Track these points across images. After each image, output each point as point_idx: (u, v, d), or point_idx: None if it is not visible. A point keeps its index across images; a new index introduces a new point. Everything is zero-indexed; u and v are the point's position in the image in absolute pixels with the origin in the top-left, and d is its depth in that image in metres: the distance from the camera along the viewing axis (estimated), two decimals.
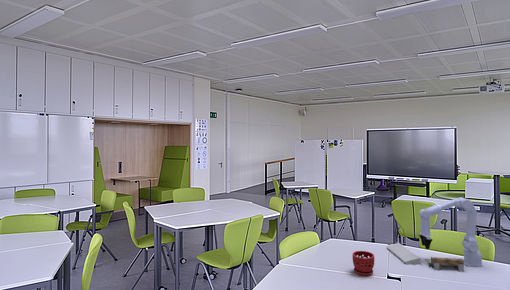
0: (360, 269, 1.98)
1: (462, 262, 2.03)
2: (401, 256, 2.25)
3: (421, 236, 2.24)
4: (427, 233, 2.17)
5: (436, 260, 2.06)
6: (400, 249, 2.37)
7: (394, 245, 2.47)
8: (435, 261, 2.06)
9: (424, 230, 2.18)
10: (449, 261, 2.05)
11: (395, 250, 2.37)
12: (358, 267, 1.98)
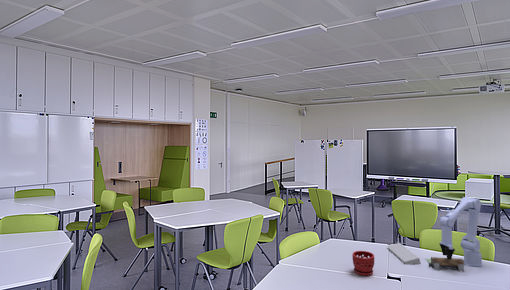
0: (360, 269, 1.98)
1: (462, 262, 2.03)
2: (401, 256, 2.25)
3: (442, 245, 2.10)
4: (449, 243, 2.04)
5: (436, 260, 2.06)
6: (400, 249, 2.37)
7: (395, 245, 2.47)
8: (435, 261, 2.06)
9: (446, 239, 2.04)
10: (449, 261, 2.05)
11: (395, 250, 2.37)
12: (358, 267, 1.98)
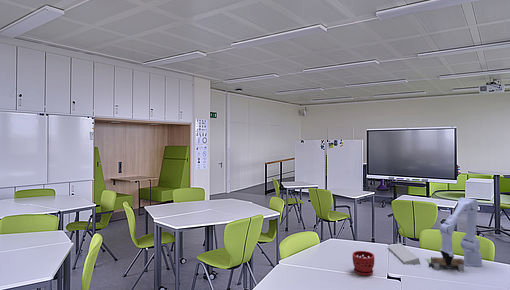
0: (360, 269, 1.98)
1: (462, 262, 2.03)
2: (401, 256, 2.25)
3: (443, 253, 2.09)
4: (449, 250, 2.04)
5: (436, 260, 2.06)
6: (400, 249, 2.37)
7: (395, 245, 2.47)
8: (435, 261, 2.06)
9: (446, 246, 2.04)
10: None
11: (395, 250, 2.37)
12: (358, 267, 1.98)
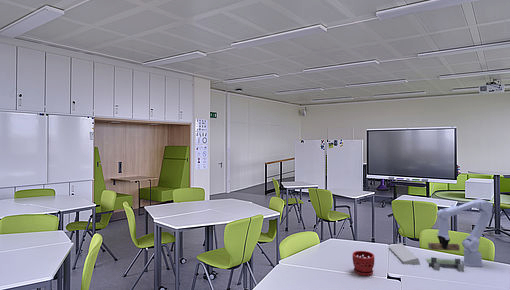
0: (360, 269, 1.98)
1: (458, 247, 2.14)
2: (400, 256, 2.25)
3: (440, 237, 2.20)
4: (446, 234, 2.15)
5: (433, 245, 2.17)
6: (401, 249, 2.36)
7: (396, 245, 2.46)
8: (432, 246, 2.17)
9: (442, 231, 2.15)
10: None
11: (396, 250, 2.37)
12: (358, 267, 1.98)
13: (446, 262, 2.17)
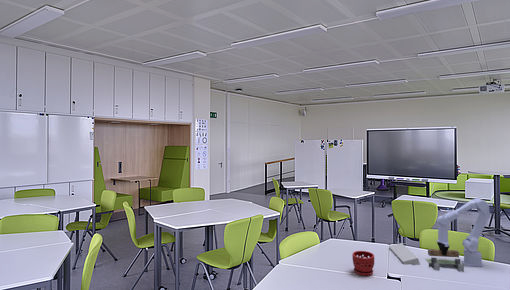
0: (360, 269, 1.98)
1: (457, 253, 2.15)
2: (400, 256, 2.25)
3: (439, 244, 2.21)
4: (445, 241, 2.16)
5: (433, 252, 2.18)
6: (401, 249, 2.36)
7: (396, 245, 2.46)
8: (432, 253, 2.19)
9: (442, 237, 2.17)
10: None
11: (396, 250, 2.37)
12: (358, 267, 1.98)
13: (446, 262, 2.17)
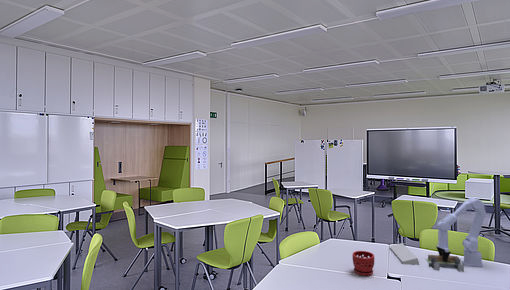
0: (360, 269, 1.98)
1: None
2: (400, 256, 2.25)
3: (439, 248, 2.22)
4: (445, 246, 2.16)
5: None
6: (401, 249, 2.36)
7: (397, 245, 2.46)
8: None
9: (442, 242, 2.17)
10: None
11: (396, 250, 2.37)
12: (358, 267, 1.98)
13: None
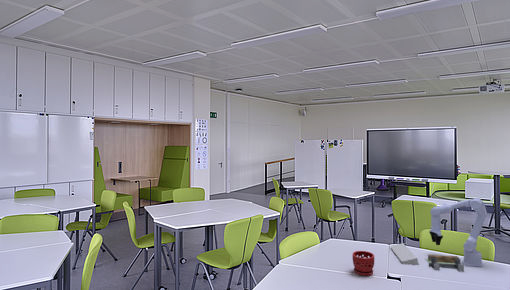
0: (360, 269, 1.98)
1: None
2: (400, 256, 2.25)
3: (431, 233, 2.32)
4: (438, 230, 2.25)
5: None
6: (402, 249, 2.36)
7: (398, 245, 2.46)
8: None
9: (435, 227, 2.26)
10: (445, 258, 2.17)
11: (396, 250, 2.37)
12: (358, 267, 1.98)
13: None
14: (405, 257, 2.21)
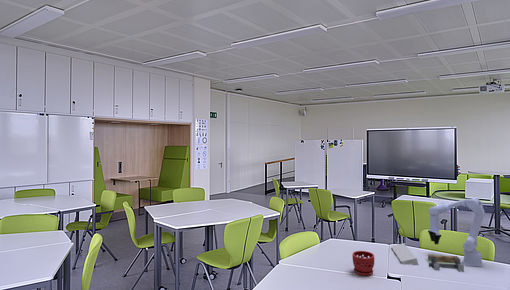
0: (360, 269, 1.98)
1: None
2: (400, 256, 2.26)
3: (430, 232, 2.34)
4: (436, 229, 2.27)
5: None
6: (402, 249, 2.36)
7: (398, 245, 2.46)
8: None
9: (433, 226, 2.28)
10: (445, 258, 2.17)
11: (397, 250, 2.37)
12: (358, 267, 1.98)
13: None
14: (405, 257, 2.21)
